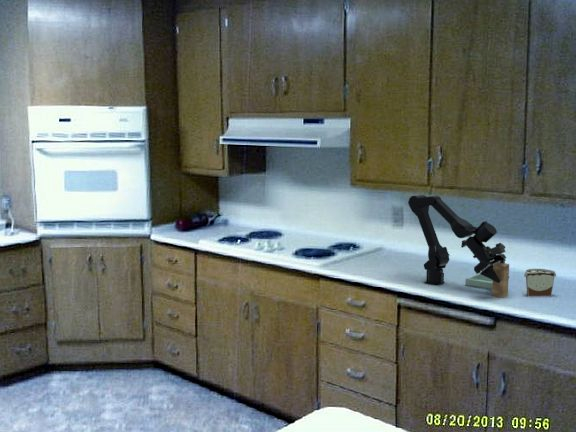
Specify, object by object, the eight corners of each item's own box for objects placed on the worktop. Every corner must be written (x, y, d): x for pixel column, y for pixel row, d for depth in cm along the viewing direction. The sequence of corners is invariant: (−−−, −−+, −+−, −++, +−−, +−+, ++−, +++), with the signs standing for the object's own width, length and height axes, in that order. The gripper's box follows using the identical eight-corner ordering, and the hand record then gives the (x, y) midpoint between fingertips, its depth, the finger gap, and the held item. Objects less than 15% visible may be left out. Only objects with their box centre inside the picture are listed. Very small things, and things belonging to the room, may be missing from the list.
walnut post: (492, 296, 256) (493, 264, 255) (496, 294, 260) (498, 262, 258) (503, 298, 254) (504, 265, 252) (507, 295, 257) (509, 264, 255)
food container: (548, 292, 262) (549, 268, 261) (555, 296, 256) (556, 271, 255) (518, 292, 262) (519, 268, 260) (524, 296, 256) (525, 271, 254)
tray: (465, 285, 273) (465, 278, 272) (477, 280, 282) (477, 273, 281) (491, 290, 265) (491, 283, 265) (503, 284, 274) (503, 278, 274)
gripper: (482, 240, 249) (509, 272, 243) (502, 233, 263) (528, 264, 257) (462, 257, 255) (488, 289, 250) (483, 250, 269) (508, 280, 263)
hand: (504, 280), depth 255 cm, fingers open, 8 cm apart
